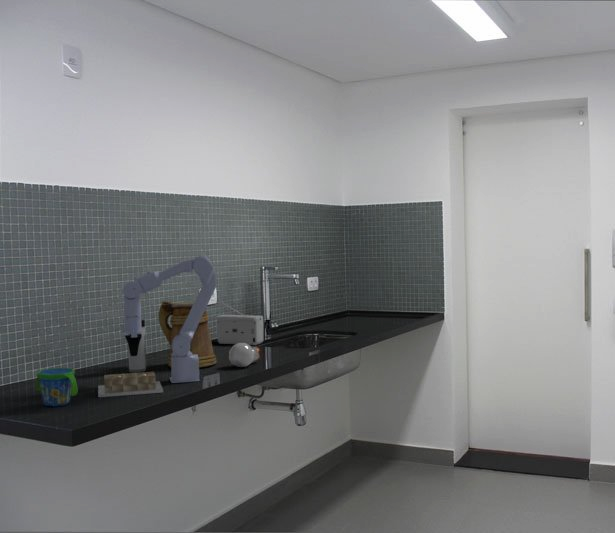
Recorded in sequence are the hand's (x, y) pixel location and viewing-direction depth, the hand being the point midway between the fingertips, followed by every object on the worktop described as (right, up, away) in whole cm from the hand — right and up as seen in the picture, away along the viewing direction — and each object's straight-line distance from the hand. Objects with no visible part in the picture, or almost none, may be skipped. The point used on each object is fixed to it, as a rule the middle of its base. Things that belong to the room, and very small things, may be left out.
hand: (133, 355), depth 247 cm
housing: (+2, -10, -12) cm, 15 cm away
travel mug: (-4, -9, +22) cm, 24 cm away
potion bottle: (+35, -8, +30) cm, 47 cm away
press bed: (+2, -10, -12) cm, 15 cm away
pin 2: (+5, -8, -11) cm, 15 cm away
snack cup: (-16, -11, -29) cm, 35 cm away
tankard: (+12, -8, +33) cm, 36 cm away
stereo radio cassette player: (+28, -5, +86) cm, 90 cm away
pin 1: (-2, -9, -13) cm, 16 cm away
